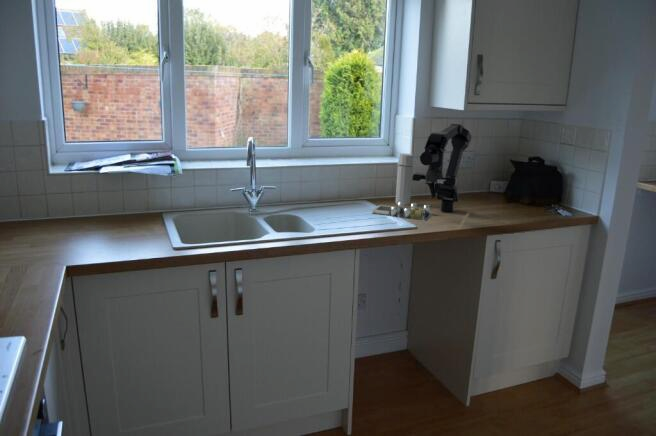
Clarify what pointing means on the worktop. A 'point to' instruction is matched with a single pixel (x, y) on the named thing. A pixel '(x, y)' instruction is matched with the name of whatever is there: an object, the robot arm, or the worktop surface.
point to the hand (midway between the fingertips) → (433, 197)
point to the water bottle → (404, 178)
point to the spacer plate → (401, 211)
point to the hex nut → (416, 212)
